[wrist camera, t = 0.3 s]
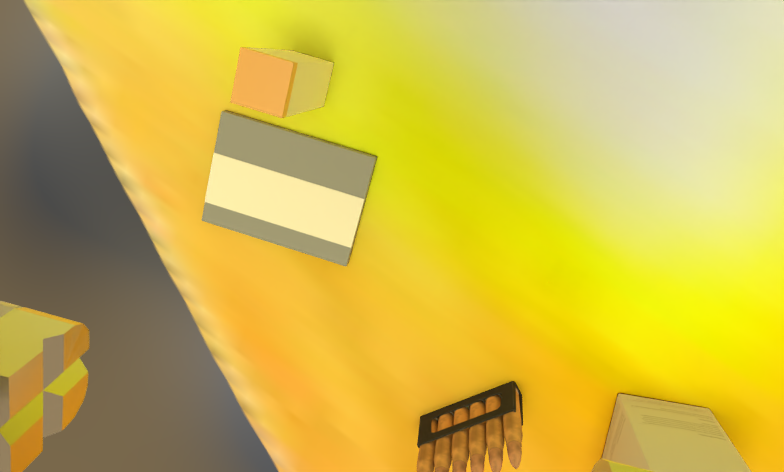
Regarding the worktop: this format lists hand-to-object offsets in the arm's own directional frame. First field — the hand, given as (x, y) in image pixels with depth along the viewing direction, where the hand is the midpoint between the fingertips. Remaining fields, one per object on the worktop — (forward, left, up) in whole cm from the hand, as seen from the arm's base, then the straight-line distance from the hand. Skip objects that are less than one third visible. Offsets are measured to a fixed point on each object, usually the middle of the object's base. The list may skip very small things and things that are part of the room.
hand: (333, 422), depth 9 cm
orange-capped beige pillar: (0, -14, -47) cm, 49 cm away
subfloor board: (+10, -14, -47) cm, 50 cm away
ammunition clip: (+27, +10, -47) cm, 55 cm away
